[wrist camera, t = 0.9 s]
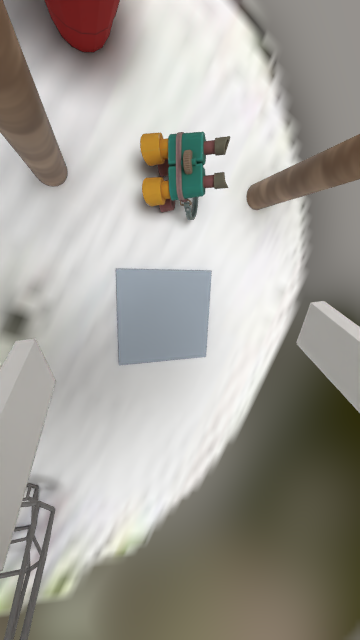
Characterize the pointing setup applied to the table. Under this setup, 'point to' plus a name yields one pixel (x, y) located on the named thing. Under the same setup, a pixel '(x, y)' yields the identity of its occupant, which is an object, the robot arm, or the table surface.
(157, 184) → the binoculars
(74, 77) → the table surface
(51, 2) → the plastic cup
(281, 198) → the post gap
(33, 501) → the geometric lantern
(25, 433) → the robot arm
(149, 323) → the grey mat
